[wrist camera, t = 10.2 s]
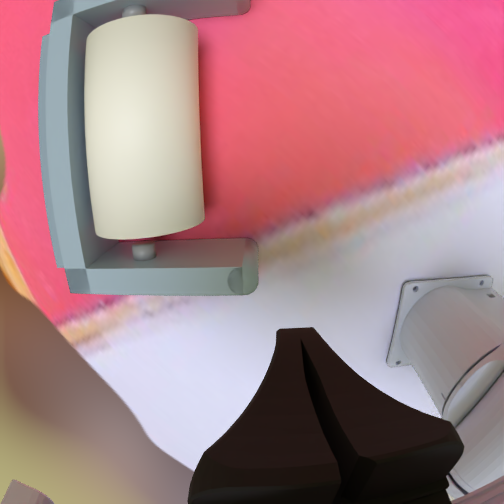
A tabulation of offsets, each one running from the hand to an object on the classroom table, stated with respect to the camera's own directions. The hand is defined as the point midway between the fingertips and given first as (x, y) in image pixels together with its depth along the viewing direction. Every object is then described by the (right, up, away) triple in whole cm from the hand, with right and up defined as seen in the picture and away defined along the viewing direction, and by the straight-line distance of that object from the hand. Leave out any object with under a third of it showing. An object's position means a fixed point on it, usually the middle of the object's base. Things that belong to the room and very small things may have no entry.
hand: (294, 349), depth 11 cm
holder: (-9, +11, +7) cm, 16 cm away
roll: (-8, +10, +4) cm, 14 cm away
